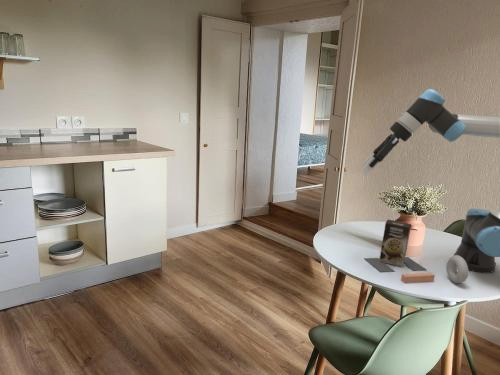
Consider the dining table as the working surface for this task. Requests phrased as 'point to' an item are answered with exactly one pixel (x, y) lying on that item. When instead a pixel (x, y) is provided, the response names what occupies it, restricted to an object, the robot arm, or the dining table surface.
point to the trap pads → (385, 268)
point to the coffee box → (395, 242)
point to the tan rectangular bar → (417, 277)
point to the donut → (457, 269)
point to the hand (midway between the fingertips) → (363, 169)
